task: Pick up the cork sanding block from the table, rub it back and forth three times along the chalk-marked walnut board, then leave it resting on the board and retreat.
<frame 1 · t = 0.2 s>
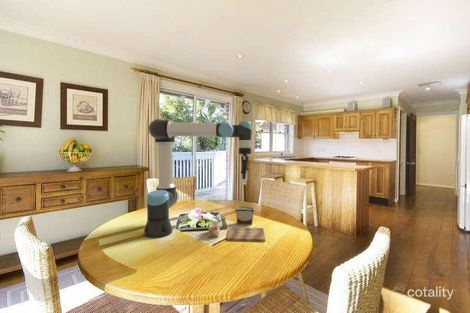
hand: (244, 182, 144), 27 cm above the table, fingers open, 13 cm apart
food container: (244, 223, 153), on the table
sanding block: (214, 234, 134), on the table
board: (246, 235, 133), on the table
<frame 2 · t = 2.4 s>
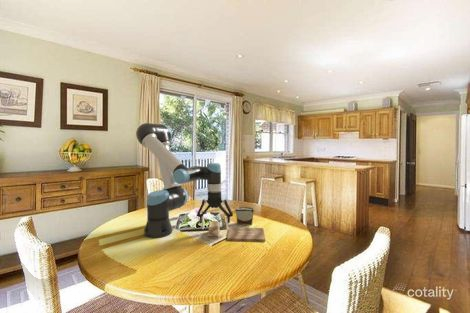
hand: (215, 228, 134), 3 cm above the table, fingers open, 13 cm apart
nothing on the table moved.
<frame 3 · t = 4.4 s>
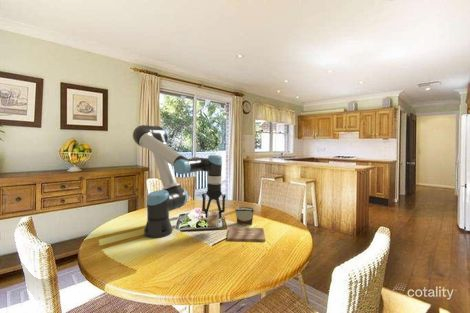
hand: (213, 223, 134), 6 cm above the table, fingers closed on sanding block, 5 cm apart
sanding block: (213, 224, 134), point 5 cm above the table, touching gripper
everything else where it was.
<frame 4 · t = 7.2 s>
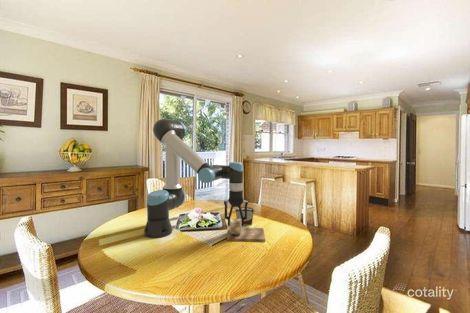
hand: (235, 231, 133), 2 cm above the table, fingers closed on sanding block, 5 cm apart
sanding block: (235, 231, 133), point 2 cm above the table, touching gripper
everything else where it was.
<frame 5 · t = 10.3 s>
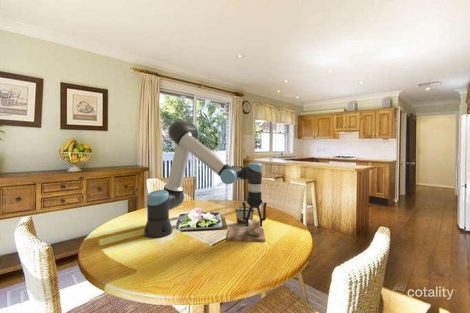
hand: (254, 232, 133), 2 cm above the table, fingers closed on sanding block, 5 cm apart
sanding block: (254, 232, 133), point 1 cm above the table, touching gripper
everything else where it was.
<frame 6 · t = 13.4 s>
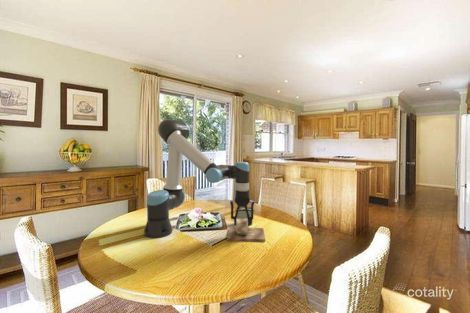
hand: (242, 231, 133), 2 cm above the table, fingers closed on sanding block, 5 cm apart
sanding block: (242, 231, 133), point 2 cm above the table, touching gripper
everything else where it was.
when the fingers open (2 cm above the table, at t = 16.0 s): sanding block stays where it is, resting on board.
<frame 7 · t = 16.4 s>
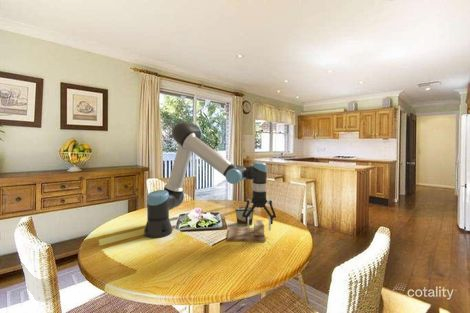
hand: (258, 229, 133), 3 cm above the table, fingers open, 11 cm apart
sanding block: (258, 233, 133), point 1 cm above the table, touching board
everything else where it was.
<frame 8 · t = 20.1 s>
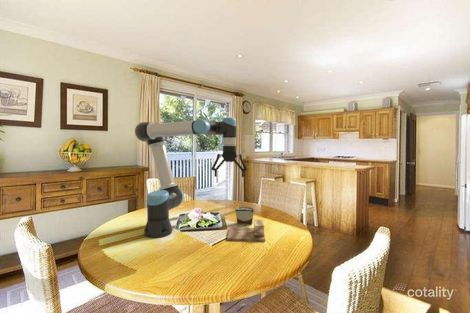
hand: (229, 182, 136), 29 cm above the table, fingers open, 13 cm apart
nothing on the table moved.
at the end: sanding block inside the target area on the board (7.0 cm from its centre), point 1.2 cm above the board's base; sanding block moved 25.0 cm from its start; the gripper is holding nothing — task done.
